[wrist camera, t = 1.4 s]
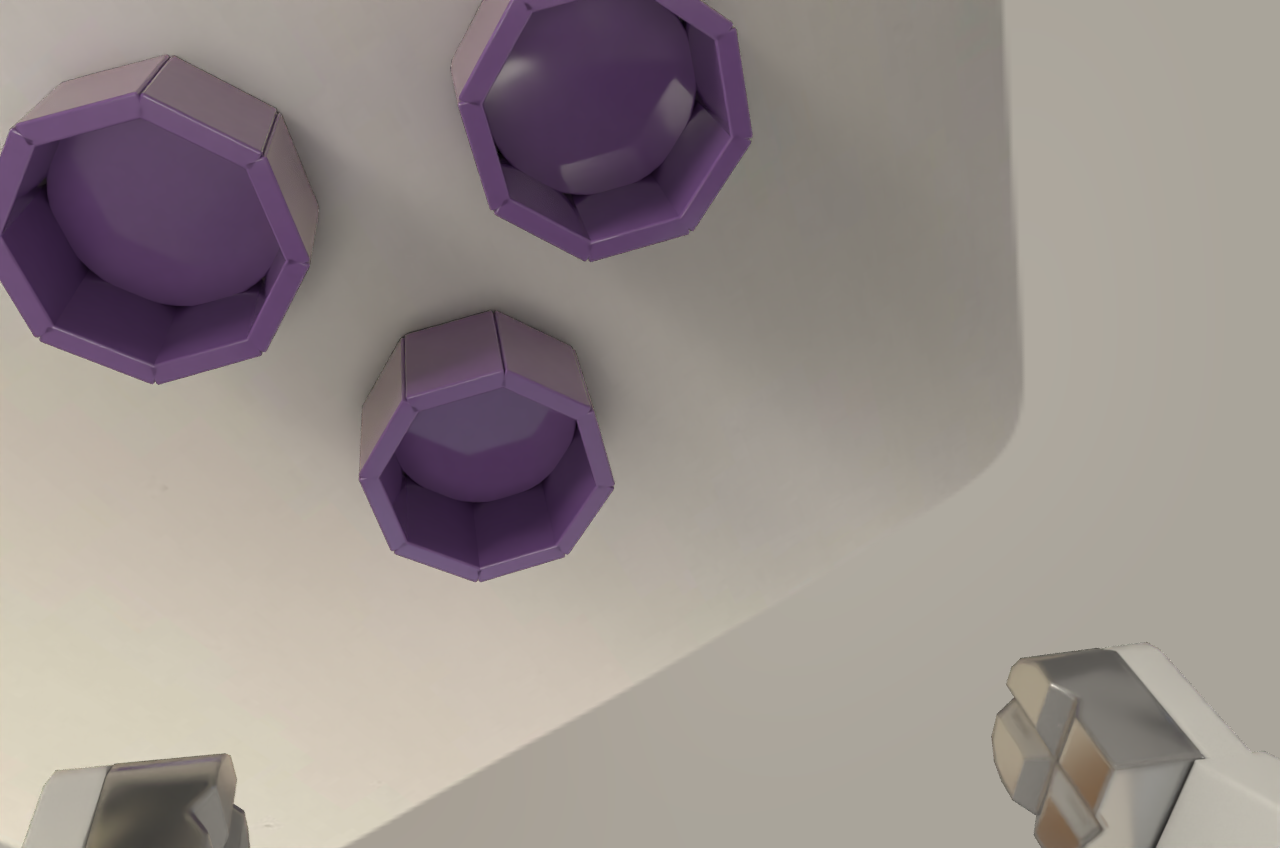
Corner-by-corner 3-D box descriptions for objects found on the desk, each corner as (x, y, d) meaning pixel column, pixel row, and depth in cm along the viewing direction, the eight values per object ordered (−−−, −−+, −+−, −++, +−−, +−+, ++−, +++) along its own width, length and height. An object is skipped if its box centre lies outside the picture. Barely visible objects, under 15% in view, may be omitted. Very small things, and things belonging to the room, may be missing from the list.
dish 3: (557, 290, 28) (576, 348, 25) (608, 469, 31) (630, 538, 28) (336, 353, 27) (330, 419, 25) (411, 526, 31) (413, 603, 28)
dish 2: (683, -84, 24) (722, -66, 21) (726, 167, 27) (766, 213, 24) (424, -15, 23) (429, 13, 20) (500, 231, 27) (513, 285, 24)
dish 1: (248, 31, 23) (228, 67, 20) (346, 274, 26) (341, 333, 24) (-23, 103, 23) (-81, 150, 20) (111, 340, 26) (77, 408, 23)
